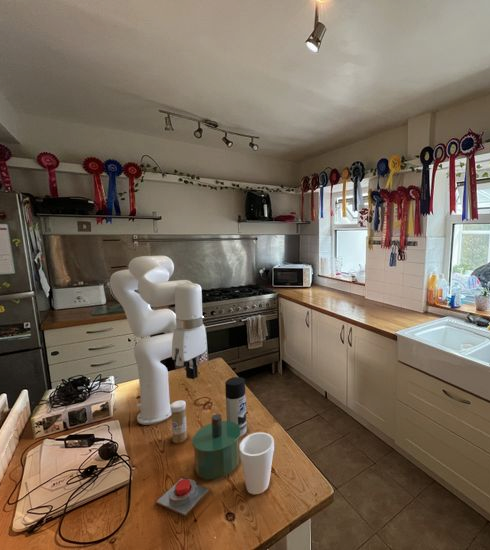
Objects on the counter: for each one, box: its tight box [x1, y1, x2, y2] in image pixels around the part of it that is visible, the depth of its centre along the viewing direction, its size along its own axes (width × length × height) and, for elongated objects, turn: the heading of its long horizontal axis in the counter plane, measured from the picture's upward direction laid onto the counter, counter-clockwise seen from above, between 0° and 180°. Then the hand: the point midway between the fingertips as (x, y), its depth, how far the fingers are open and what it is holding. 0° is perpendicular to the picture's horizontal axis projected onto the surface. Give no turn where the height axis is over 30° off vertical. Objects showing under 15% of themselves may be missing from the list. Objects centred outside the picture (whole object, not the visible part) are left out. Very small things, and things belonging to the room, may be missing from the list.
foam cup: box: [239, 431, 275, 495], centre depth 82 cm, size 10×9×13 cm
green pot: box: [193, 437, 240, 480], centre depth 90 cm, size 13×13×10 cm
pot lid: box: [191, 413, 241, 453], centre depth 89 cm, size 14×14×7 cm
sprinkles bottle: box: [170, 400, 188, 444], centre depth 100 cm, size 5×5×14 cm
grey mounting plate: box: [155, 477, 210, 518], centre depth 78 cm, size 10×8×3 cm
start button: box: [174, 478, 190, 496], centre depth 78 cm, size 4×4×2 cm
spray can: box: [224, 376, 248, 438], centre depth 103 cm, size 7×7×20 cm
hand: (192, 377), depth 94 cm, fingers closed
